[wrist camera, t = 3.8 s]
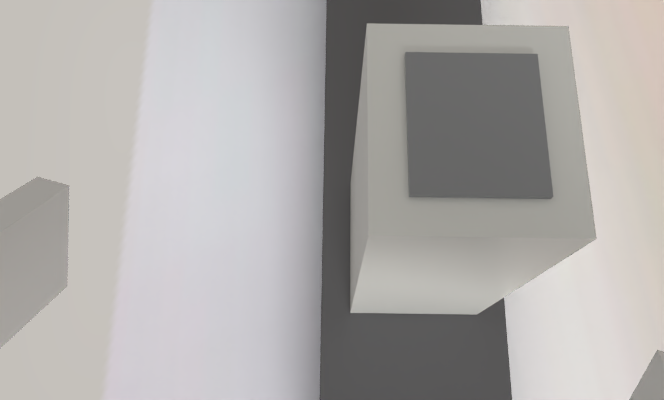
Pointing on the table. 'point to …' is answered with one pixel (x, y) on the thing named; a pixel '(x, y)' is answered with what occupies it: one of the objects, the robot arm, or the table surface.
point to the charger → (464, 166)
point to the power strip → (336, 320)
